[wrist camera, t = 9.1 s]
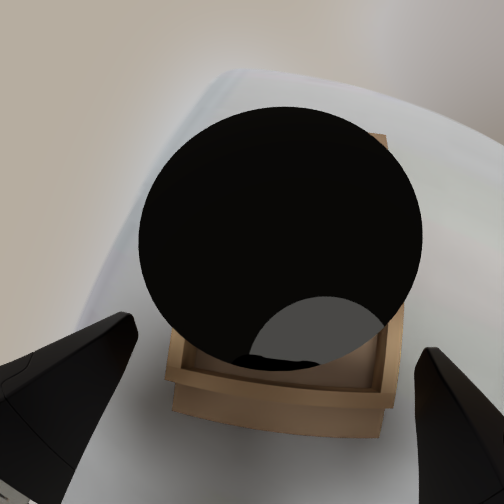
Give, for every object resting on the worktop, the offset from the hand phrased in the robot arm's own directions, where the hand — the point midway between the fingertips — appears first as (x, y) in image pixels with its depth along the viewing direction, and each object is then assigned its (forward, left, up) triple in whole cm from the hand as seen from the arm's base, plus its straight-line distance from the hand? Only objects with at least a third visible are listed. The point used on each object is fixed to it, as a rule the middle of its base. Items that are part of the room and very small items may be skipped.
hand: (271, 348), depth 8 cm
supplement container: (+2, +2, -8) cm, 8 cm away
